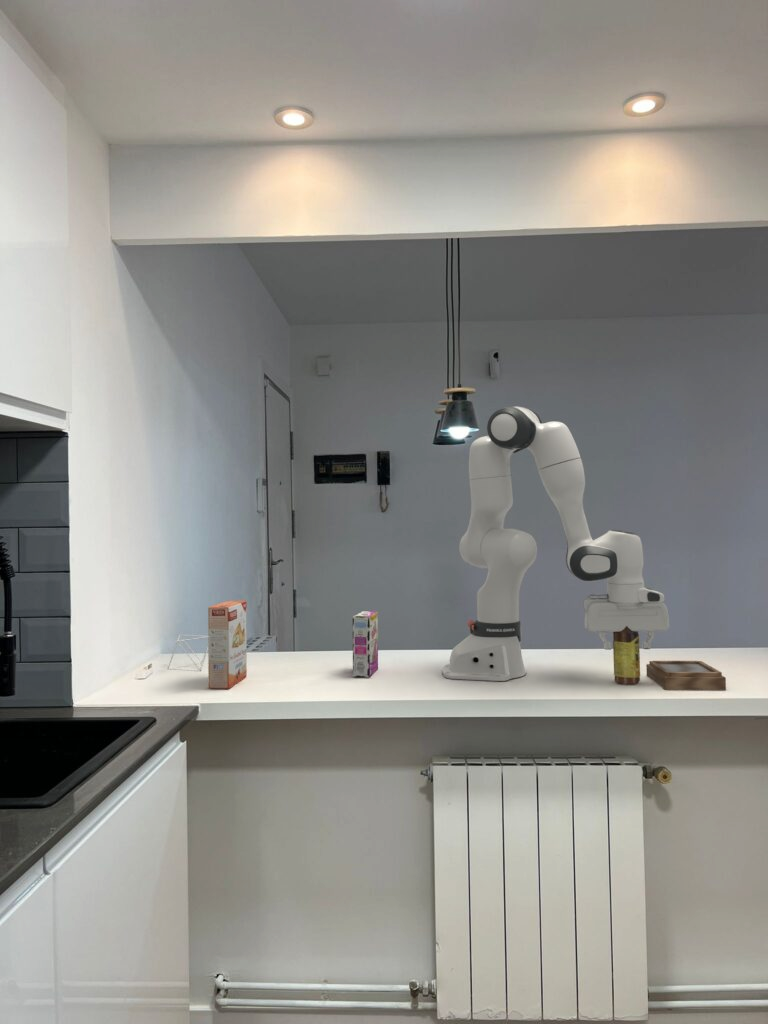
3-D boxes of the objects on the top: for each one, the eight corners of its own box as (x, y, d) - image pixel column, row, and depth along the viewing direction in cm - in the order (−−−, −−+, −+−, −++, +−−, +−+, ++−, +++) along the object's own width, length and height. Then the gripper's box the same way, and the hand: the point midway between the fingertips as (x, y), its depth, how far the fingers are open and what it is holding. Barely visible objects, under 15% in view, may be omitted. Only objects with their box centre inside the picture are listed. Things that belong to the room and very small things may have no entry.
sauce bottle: (642, 686, 169) (640, 605, 169) (615, 685, 171) (614, 605, 171) (638, 679, 176) (636, 601, 176) (612, 679, 177) (610, 601, 177)
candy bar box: (370, 678, 182) (369, 616, 183) (352, 677, 183) (351, 616, 184) (379, 669, 193) (378, 610, 193) (362, 668, 194) (361, 610, 194)
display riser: (665, 690, 165) (665, 673, 165) (646, 675, 180) (646, 660, 180) (725, 690, 164) (725, 673, 164) (701, 675, 179) (701, 660, 179)
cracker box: (230, 689, 173) (229, 606, 173) (207, 689, 174) (206, 606, 174) (248, 676, 187) (247, 599, 187) (227, 676, 188) (226, 599, 188)
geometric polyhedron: (217, 668, 199) (217, 636, 199) (182, 674, 191) (182, 641, 191) (197, 662, 208) (196, 632, 208) (162, 668, 200) (162, 636, 200)
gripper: (585, 596, 171) (587, 652, 171) (670, 595, 169) (672, 651, 169) (580, 593, 177) (582, 647, 177) (662, 592, 175) (664, 646, 175)
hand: (626, 649), depth 173 cm, fingers open, 8 cm apart
